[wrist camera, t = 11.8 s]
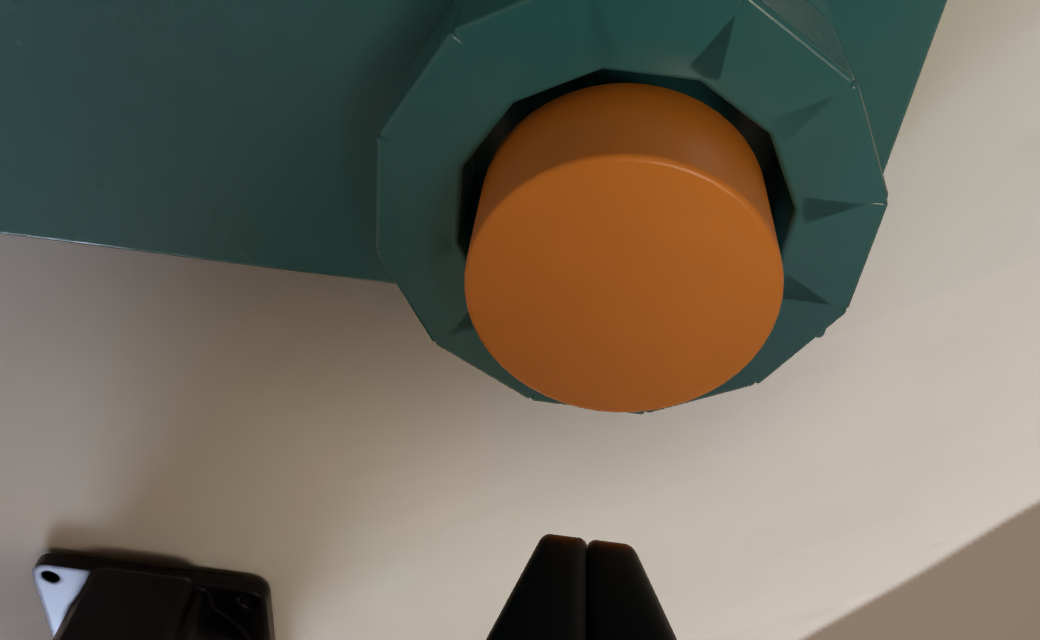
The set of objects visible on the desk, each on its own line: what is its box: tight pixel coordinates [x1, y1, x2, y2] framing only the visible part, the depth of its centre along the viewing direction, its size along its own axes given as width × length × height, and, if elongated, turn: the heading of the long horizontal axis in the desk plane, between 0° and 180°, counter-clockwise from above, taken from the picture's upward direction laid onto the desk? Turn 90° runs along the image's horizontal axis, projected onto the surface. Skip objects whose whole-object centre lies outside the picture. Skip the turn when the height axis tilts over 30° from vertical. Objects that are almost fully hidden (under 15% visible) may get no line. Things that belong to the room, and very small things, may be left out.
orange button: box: [464, 83, 784, 412], centre depth 13 cm, size 4×4×2 cm
